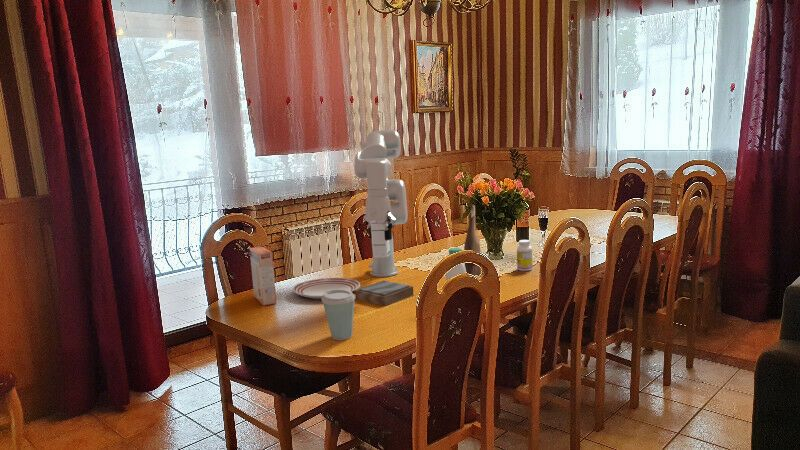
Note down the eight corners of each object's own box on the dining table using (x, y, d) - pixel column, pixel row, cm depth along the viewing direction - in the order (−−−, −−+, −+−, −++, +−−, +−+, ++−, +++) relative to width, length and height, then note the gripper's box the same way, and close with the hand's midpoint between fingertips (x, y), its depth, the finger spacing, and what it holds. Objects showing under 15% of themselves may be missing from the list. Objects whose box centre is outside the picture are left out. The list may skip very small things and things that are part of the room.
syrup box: (387, 257, 226) (385, 220, 223) (372, 257, 227) (370, 220, 224) (390, 254, 231) (388, 217, 228) (376, 254, 232) (373, 217, 230)
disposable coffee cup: (363, 332, 194) (360, 288, 192) (348, 344, 185) (344, 298, 182) (335, 329, 199) (332, 286, 196) (318, 341, 189) (314, 296, 186)
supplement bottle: (516, 267, 264) (515, 239, 262) (531, 267, 264) (530, 238, 262) (518, 271, 258) (517, 242, 255) (533, 271, 257) (533, 242, 255)
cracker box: (277, 303, 232) (272, 251, 228) (262, 306, 229) (257, 253, 225) (268, 295, 244) (263, 245, 240) (253, 297, 241) (248, 247, 238)
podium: (355, 299, 232) (355, 289, 231) (384, 289, 243) (383, 279, 242) (385, 306, 221) (384, 295, 220) (413, 295, 232) (413, 285, 232)
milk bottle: (446, 304, 219) (443, 251, 215) (447, 298, 226) (445, 246, 223) (467, 304, 217) (465, 251, 214) (467, 297, 225) (465, 246, 221)
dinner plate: (338, 280, 262) (338, 272, 261) (373, 292, 240) (373, 284, 239) (281, 293, 246) (281, 285, 245) (313, 308, 224) (312, 299, 224)
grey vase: (456, 283, 246) (453, 207, 239) (463, 275, 257) (460, 202, 250) (483, 285, 242) (480, 208, 235) (488, 276, 253) (486, 202, 246)
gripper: (354, 193, 228) (357, 238, 231) (387, 195, 216) (390, 243, 219) (368, 190, 233) (371, 234, 236) (401, 192, 221) (404, 239, 225)
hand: (380, 238), depth 228 cm, fingers closed on syrup box, 7 cm apart
